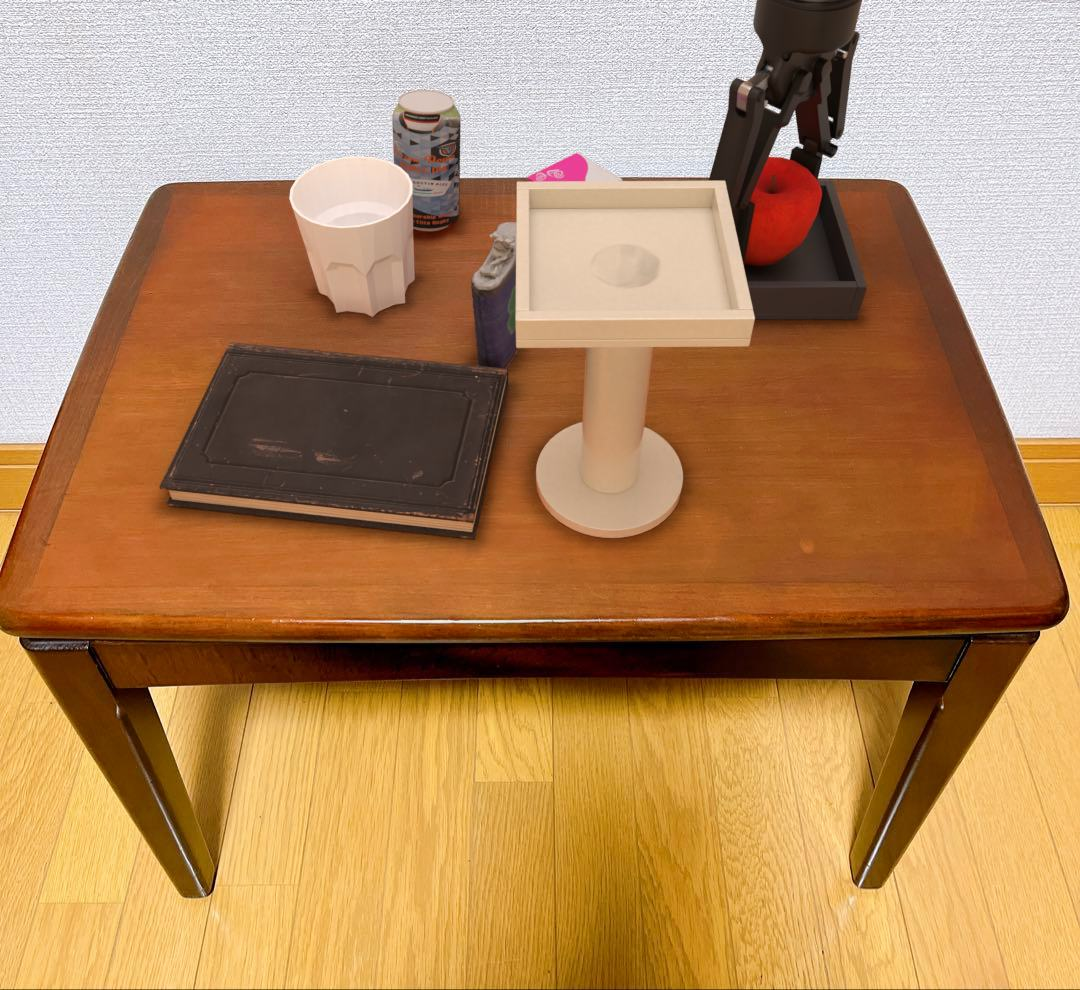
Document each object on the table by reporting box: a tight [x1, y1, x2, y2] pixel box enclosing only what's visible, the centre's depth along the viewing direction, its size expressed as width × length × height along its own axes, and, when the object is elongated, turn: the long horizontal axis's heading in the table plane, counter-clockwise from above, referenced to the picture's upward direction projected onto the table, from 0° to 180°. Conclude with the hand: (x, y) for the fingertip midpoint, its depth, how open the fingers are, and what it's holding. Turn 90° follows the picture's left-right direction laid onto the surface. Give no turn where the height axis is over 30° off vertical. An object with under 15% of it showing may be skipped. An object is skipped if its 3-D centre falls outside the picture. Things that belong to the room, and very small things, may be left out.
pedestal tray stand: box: [515, 180, 755, 539], centre depth 68 cm, size 13×13×22 cm
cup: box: [289, 155, 416, 318], centre depth 87 cm, size 10×10×10 cm
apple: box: [744, 156, 822, 266], centre depth 89 cm, size 9×9×8 cm
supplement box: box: [526, 151, 624, 182], centre depth 86 cm, size 6×6×12 cm
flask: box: [470, 221, 520, 369], centre depth 82 cm, size 9×3×11 cm, turn 165°
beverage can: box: [391, 89, 461, 232], centre depth 93 cm, size 6×7×12 cm
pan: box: [744, 179, 868, 321], centre depth 91 cm, size 16×16×4 cm
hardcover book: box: [158, 342, 509, 540], centre depth 78 cm, size 16×23×2 cm
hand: (761, 239), depth 91 cm, fingers closed on apple, 9 cm apart
